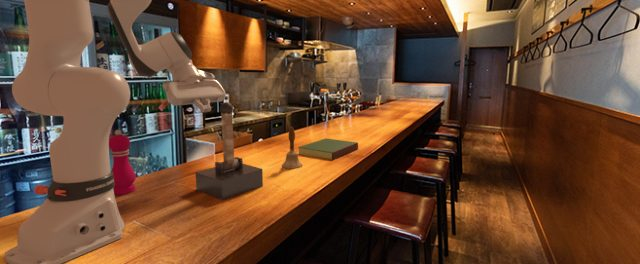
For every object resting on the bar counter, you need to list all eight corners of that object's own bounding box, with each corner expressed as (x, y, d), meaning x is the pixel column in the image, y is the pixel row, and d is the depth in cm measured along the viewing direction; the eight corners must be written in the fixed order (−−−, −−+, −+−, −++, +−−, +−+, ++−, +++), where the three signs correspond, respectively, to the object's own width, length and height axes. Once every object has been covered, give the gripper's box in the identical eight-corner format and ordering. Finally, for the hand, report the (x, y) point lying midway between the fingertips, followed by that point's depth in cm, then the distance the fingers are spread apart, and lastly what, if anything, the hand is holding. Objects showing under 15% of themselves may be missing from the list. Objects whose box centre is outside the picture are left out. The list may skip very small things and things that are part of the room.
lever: (217, 170, 111) (214, 102, 107) (233, 166, 115) (230, 101, 111) (225, 172, 108) (222, 103, 104) (240, 168, 113) (238, 102, 109)
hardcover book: (332, 160, 149) (332, 152, 148) (298, 155, 159) (298, 147, 158) (358, 149, 169) (358, 142, 169) (326, 145, 179) (326, 138, 179)
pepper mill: (125, 196, 105) (118, 132, 102) (105, 194, 107) (98, 131, 103) (142, 188, 112) (136, 128, 108) (123, 186, 114) (116, 127, 110)
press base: (196, 189, 111) (194, 161, 109) (236, 177, 124) (235, 152, 122) (222, 199, 103) (221, 169, 101) (262, 186, 115) (262, 158, 113)
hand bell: (305, 167, 137) (305, 128, 134) (285, 169, 134) (284, 129, 131) (298, 162, 144) (298, 124, 142) (279, 164, 141) (278, 126, 139)
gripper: (162, 74, 109) (181, 107, 105) (217, 73, 125) (235, 102, 121) (157, 88, 113) (174, 120, 109) (210, 85, 129) (228, 113, 125)
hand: (207, 110), depth 115 cm, fingers closed
